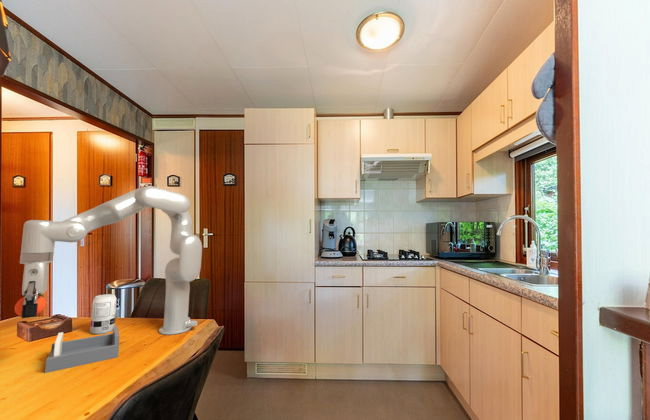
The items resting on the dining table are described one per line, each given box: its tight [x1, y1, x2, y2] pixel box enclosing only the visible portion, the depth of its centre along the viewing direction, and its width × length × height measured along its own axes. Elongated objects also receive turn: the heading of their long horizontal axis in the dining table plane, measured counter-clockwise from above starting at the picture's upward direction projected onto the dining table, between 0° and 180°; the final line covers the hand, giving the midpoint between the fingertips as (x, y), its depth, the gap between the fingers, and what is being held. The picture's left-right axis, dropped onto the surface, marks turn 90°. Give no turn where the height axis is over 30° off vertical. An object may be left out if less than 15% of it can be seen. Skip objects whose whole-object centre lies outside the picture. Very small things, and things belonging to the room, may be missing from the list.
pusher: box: [54, 331, 64, 356], centre depth 92 cm, size 1×12×7 cm, turn 40°
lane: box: [44, 325, 120, 374], centre depth 97 cm, size 18×15×7 cm
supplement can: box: [89, 293, 118, 335], centre depth 121 cm, size 8×8×15 cm
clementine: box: [14, 294, 47, 318], centre depth 89 cm, size 8×7×7 cm
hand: (31, 313), depth 89 cm, fingers closed on clementine, 7 cm apart
